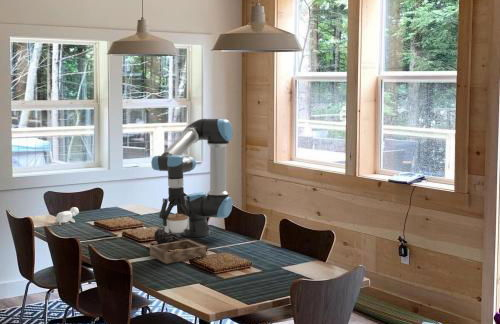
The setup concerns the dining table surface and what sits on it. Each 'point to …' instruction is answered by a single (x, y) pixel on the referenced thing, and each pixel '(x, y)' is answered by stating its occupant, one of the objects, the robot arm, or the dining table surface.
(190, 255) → the wooden tray
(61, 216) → the white animal figurine
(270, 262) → the dining table surface
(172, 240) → the pine cone
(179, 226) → the lidded jar
